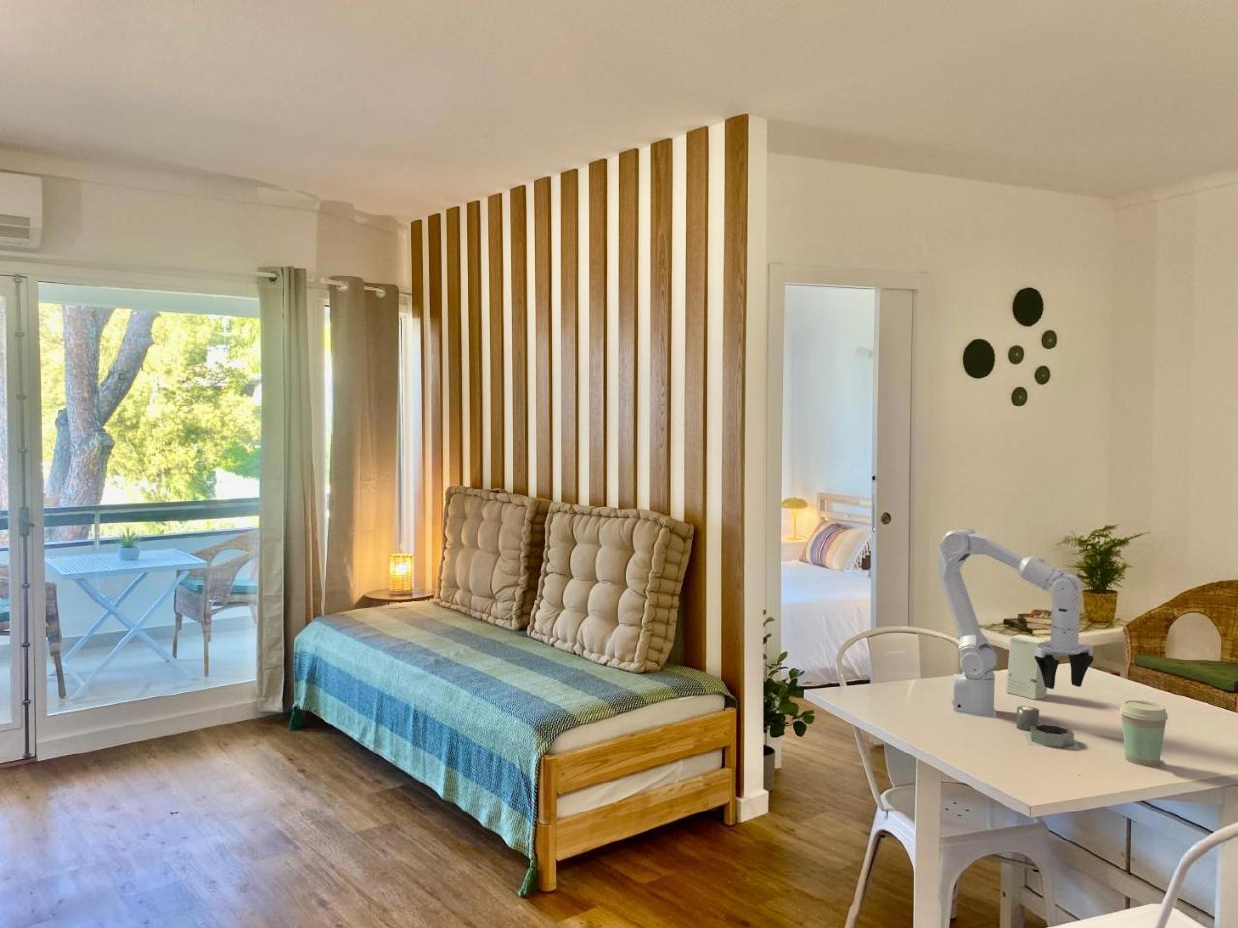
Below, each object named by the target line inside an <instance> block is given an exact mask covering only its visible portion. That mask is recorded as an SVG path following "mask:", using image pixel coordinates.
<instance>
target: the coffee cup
mask: <svg viewBox="0 0 1238 928" xmlns="http://www.w3.org/2000/svg"><path fill="white" fill-rule="evenodd" d="M1119 714H1121V724H1122V734H1123V735H1122V736H1123V737H1122V738H1123V743H1124V744H1123V745H1124V755H1125V756H1124V757H1125V760H1126V761H1127V762H1129V763H1132V764H1135V765H1138V766H1143V767H1156V766H1159V765H1160V760H1161V756H1162V755H1161V754H1162V748H1163V747H1162V746H1163V742H1164V737H1165V736H1164V735H1165V728H1166V723H1167V720H1169V717H1168V713H1167V711H1166V708H1165V706H1163V705H1161V704H1159V703H1155V702H1153V701H1152V702H1151V701H1145V700H1138V699H1136V700H1135V699H1131V700H1130V699H1129V700H1125V701H1123V702H1122V705H1121V707H1120V709H1119Z"/></svg>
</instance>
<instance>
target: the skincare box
mask: <svg viewBox="0 0 1238 928" xmlns="http://www.w3.org/2000/svg"><path fill="white" fill-rule="evenodd" d="M1009 638H1010V640H1009V651H1008V664H1007V676H1006V691H1005V692H1006V693H1007V694H1011V695H1014V696H1015V695H1016V696H1019V697H1024V698H1027V699H1031V700H1035V701H1036V700H1040V699H1043V698H1046V697H1047V694H1048V693H1047V692H1048V688H1047V687H1045V685H1044V681H1043V676H1042V673H1041V670H1040V668H1039V665H1038V663H1037V662H1036V660H1035V647H1041V646H1045V645H1049V644H1051V640H1047V639H1043V638H1039V637H1035V636H1031V635H1026V634H1017V635H1011V636H1010V637H1009Z"/></svg>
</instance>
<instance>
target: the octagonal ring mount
mask: <svg viewBox="0 0 1238 928" xmlns="http://www.w3.org/2000/svg"><path fill="white" fill-rule="evenodd" d="M1029 734H1030V738H1031V741H1032V742H1035V743H1038V744H1041V745H1043V746H1042V747H1048V746H1049V747H1050V748H1057V747H1058V748H1059V749H1066V748H1065V747H1070V746H1074V739H1075V733H1074V732H1073V729H1071V728H1068V727H1065V726H1061V725H1059V724H1051V723H1041V722H1039V724H1035V725H1030V732H1029Z"/></svg>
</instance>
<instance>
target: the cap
mask: <svg viewBox="0 0 1238 928" xmlns="http://www.w3.org/2000/svg"><path fill="white" fill-rule="evenodd" d="M1035 724H1040V709H1038V708H1037V707H1033V706H1026V705H1021V706H1017V707H1016V726H1015V727H1016V729H1018V730H1020V731H1024V732H1027V733H1028V732H1029V733H1030V725H1035Z"/></svg>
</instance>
